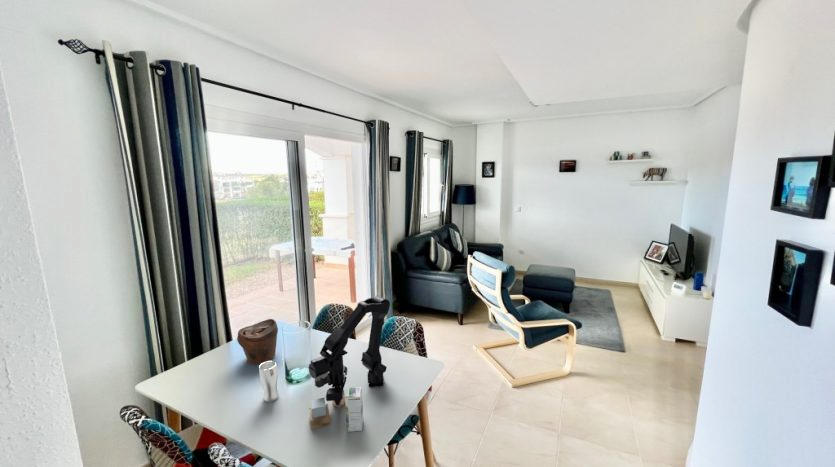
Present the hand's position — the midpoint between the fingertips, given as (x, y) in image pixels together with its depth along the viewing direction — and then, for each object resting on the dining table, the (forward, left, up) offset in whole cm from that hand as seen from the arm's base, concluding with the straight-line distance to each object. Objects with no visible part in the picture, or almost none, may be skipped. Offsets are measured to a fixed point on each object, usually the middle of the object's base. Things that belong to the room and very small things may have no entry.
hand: (338, 400), depth 144 cm
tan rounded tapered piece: (0, 0, -1) cm, 1 cm away
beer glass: (+29, -7, -1) cm, 30 cm away
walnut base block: (+6, +9, -1) cm, 11 cm away
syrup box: (-8, +13, -1) cm, 16 cm away
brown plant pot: (+44, -39, -1) cm, 59 cm away
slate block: (+6, +9, +3) cm, 11 cm away
